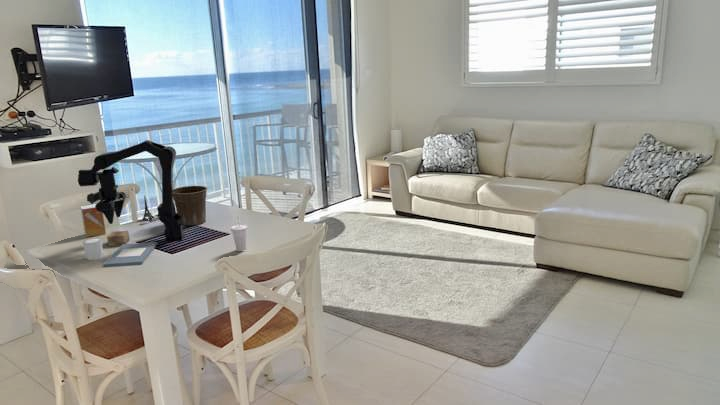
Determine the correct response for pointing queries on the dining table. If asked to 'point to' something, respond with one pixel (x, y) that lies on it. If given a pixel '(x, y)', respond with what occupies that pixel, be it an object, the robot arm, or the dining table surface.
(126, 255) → the board
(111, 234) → the walnut block
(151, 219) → the eiffel tower figurine
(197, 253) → the dining table surface
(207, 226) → the dining table surface
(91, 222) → the small box
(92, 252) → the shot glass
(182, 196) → the plant pot
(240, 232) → the smoothie
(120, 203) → the robot arm
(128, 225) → the dining table surface
